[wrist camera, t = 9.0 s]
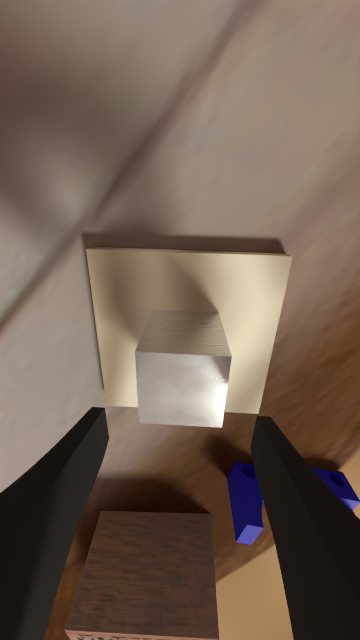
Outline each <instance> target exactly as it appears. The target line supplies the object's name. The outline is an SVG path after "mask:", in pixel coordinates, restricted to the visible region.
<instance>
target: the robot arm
mask: <svg viewBox="0 0 360 640" xmlns="http://www.w3.org/2000/svg"><path fill="white" fill-rule="evenodd" d="M108 440H109V435H108V428H107V420H106V413H105V408H99V407H92V408H91V409H90V410H89V411H88V412H87V413H86V414H85V415H84V416H83V417H82V418H81V419H80V420H79V421H78V422H77V423H76V424H75V426H74V427H73V428H72V429H71V430H70V431H69V432H68V433H67V434H66V435H65V436H64V437H63V438H62V439H61V440H60V441H59V442H58V443H57V444H56V445H55V446H54V447H53V448H52V449H51V450H50V451H49V452H47V453H46V454H45V455H44V456H43V457H42V458H41V459H40V460H39V461H38V462H37V463H36V464H35V465H33V466H32V467H31V468H30V469H29V470H28V471H27V472H25V473H24V474H23V475H22V476H21V477H20V478H18V479H17V480H16V481H15V482H14V483H12V484H11V485H10V486H9V487H8V488H6V489H5V490H4V491H2V492H1V493H0V640H44V636H45V633H46V629H47V625H48V622H49V618H50V615H51V611H52V608H53V604H54V600H55V597H56V593H57V590H58V587H59V583H60V580H61V576H62V573H63V570H64V566H65V563H66V560H67V556H68V553H69V550H70V547H71V544H72V540H73V537H74V534H75V531H76V528H77V525H78V522H79V520H80V517H81V514H82V512H83V509H84V507H85V504H86V502H87V499H88V497H89V494H90V492H91V489H92V487H93V484H94V482H95V479H96V477H97V474H98V472H99V469H100V467H101V464H102V461H103V458H104V455H105V451H106V447H107V444H108ZM250 447H251V453H252V459H253V464H254V469H255V473H256V477H257V481H258V484H259V488H260V491H261V495H262V498H263V501H264V505H265V508H266V512H267V515H268V519H269V522H270V526H271V529H272V533H273V537H274V541H275V545H276V550H277V555H278V559H279V564H280V569H281V574H282V579H283V583H284V589H285V594H286V599H287V605H288V609H289V615H290V620H291V626H292V632H293V638H294V640H360V519H359V518H358V517H357V516H356V515H355V514H354V513H353V512H352V511H351V510H350V509H349V508H348V507H347V506H346V505H345V504H344V503H343V502H342V501H341V500H340V499H339V498H338V497H337V496H336V495H335V494H334V493H333V492H332V491H331V490H330V489H329V488H328V487H327V485H326V484H325V483H324V482H323V481H322V480H321V479H320V478H319V477H318V475H317V474H316V473H315V472H314V471H313V470H312V469H311V467H310V466H309V465H308V464H307V463H306V461H305V460H304V459H303V458H302V457H301V455H300V454H299V453H298V452H297V450H296V449H295V448H294V447H293V445H292V444H291V443H290V442H289V440H288V439H287V438H286V436H285V435H284V434H283V433H282V431H281V430H280V429H279V427H278V426H277V425H276V423H275V422H274V421H273V419H272V418H271V417H265V416H257V419H256V423H255V428H254V433H253V437H252V442H251V446H250Z"/></svg>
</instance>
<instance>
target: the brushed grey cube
mask: <svg viewBox="0 0 360 640" xmlns="http://www.w3.org/2000/svg"><path fill="white" fill-rule="evenodd" d="M231 359H232V355H231V352H230V348H229V345H228V342H227V338H226V335H225V331H224V328H223V324H222V321H221V318H220V314H219V313H215V312H193V311H170V310H152V312H151V314H150V317H149V319H148V322H147V324H146V326H145V329H144V331H143V334H142V336H141V338H140V341H139V343H138V345H137V348H136V350H135V362H136V380H137V398H138V416H139V423H153V424H170V425H187V426H205V427H222V423H223V416H224V409H225V401H226V394H227V387H228V380H229V373H230V366H231Z"/></svg>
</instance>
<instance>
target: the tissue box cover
mask: <svg viewBox="0 0 360 640" xmlns="http://www.w3.org/2000/svg"><path fill="white" fill-rule="evenodd" d="M216 601H217V600H216V585H215V570H214V555H213V539H212V524H211V514H201V513H164V512H127V511H101V513H100V516H99V519H98V523H97V526H96V529H95V532H94V536H93V539H92V542H91V545H90V549H89V552H88V555H87V559H86V562H85V565H84V568H83V572H82V575H81V578H80V581H79V585H78V588H77V591H76V594H75V598H74V601H73V604H72V607H71V611H70V614H69V617H68V620H67V624H66V627H65V632H66V633H67V635H68V637H69V638H70V640H219V631H218V617H217V616H218V615H217V602H216Z"/></svg>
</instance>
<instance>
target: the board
mask: <svg viewBox="0 0 360 640" xmlns="http://www.w3.org/2000/svg"><path fill="white" fill-rule="evenodd" d="M86 253H87V261H88V268H89V276H90V284H91V291H92V299H93V307H94V314H95V322H96V330H97V337H98V345H99V352H100V360H101V368H102V375H103V383H104V391H105V398H106V405H108V406H126V407H138V398H137V380H136V362H135V350H136V348H137V345H138V343H139V341H140V338H141V336H142V334H143V331H144V329H145V326H146V324H147V322H148V319H149V317H150V314H151V312H152V310H170V311H193V312H215V313H219V314H220V318H221V321H222V324H223V328H224V331H225V335H226V338H227V342H228V345H229V348H230V352H231V355H232V359H231V366H230V373H229V380H228V387H227V394H226V401H225V409H224V412H237V413H255V414H258V413H259V409H260V404H261V400H262V395H263V390H264V386H265V381H266V377H267V372H268V368H269V363H270V358H271V354H272V349H273V345H274V340H275V335H276V331H277V326H278V322H279V317H280V313H281V308H282V303H283V299H284V294H285V290H286V285H287V281H288V276H289V271H290V267H291V262H292V258H293V256H291V255H288V254H281V253H252V252H223V251H194V250H165V249H136V248H107V247H91V248H88V249H86Z"/></svg>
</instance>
